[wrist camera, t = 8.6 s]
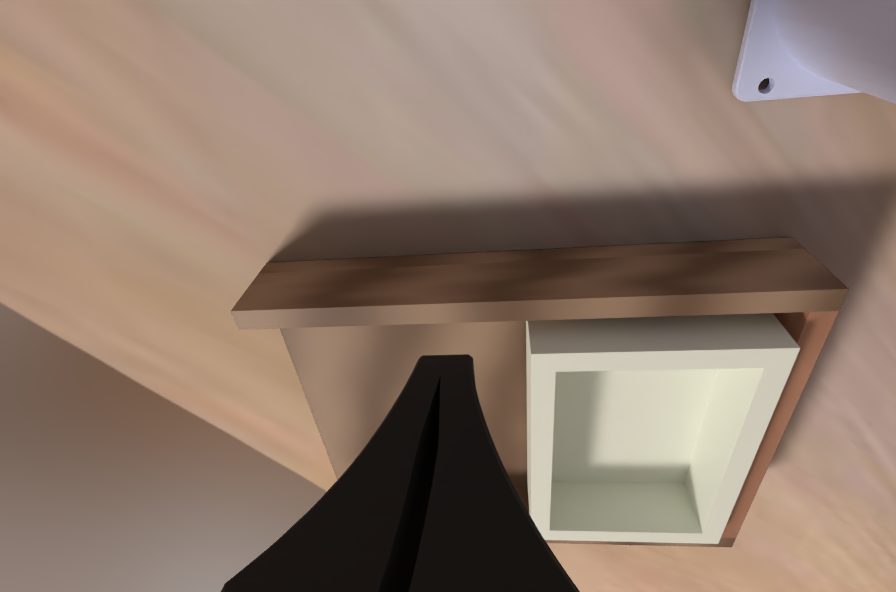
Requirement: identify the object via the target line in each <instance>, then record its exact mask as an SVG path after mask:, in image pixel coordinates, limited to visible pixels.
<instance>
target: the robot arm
mask: <svg viewBox="0 0 896 592" xmlns="http://www.w3.org/2000/svg"><path fill="white" fill-rule="evenodd" d="M766 78H769V84H768V86H767V87H766V88H765V89H764V90H762V91H758V86H759V84H760V82H761V81H763V80H764V79H766ZM860 92H864V93H867V94H870V95H873V96H876V97H878V98H881V99H884V100H887V101H890V102H893V103H896V0H751V4H750V9H749V13H748V18H747V22H746V27H745V31H744V36H743V40H742V45H741V49H740V54H739V58H738V63H737V67H736V72H735V76H734V81H733V85H732V93H733V95H734V96H735V97H736V98H737V99H739V100H741V101H746V102H749V101H761V100H773V99H786V98H798V97H811V96H823V95H835V94H848V93H860ZM221 592H580V591H579V590H578V588H577V587H576V586H575V584H574V583H573V581H572V580H571V579H570V577H569V576H568V574H567V573H566V571H565V570H564V569H563V567H562V566H561V564H560V563H559V561H558V560H557V558H556V557H555V555H554V554H553V552H552V551H551V549H550V548H549V546H548V544H547V543H546V541H545V540H544V538H543V537H542V535H541V533H540V532H539V530H538V528H537V527H536V525H535V523H534V521H533V520H532V518H531V516H530V515H529V513H528V511H527V509H526V508H525V506H524V504H523V503H522V501H521V499H520V497H519V495H518V493H517V491H516V489H515V488H514V486H513V484H512V482H511V480H510V478H509V476H508V474H507V471H506V469H505V467H504V465H503V463H502V461H501V459H500V456H499V454H498V452H497V449H496V447H495V445H494V442H493V440H492V437H491V435H490V432H489V429H488V426H487V424H486V421H485V418H484V415H483V412H482V408H481V405H480V402H479V398H478V395H477V390H476V384H475V373H474V363H473V357H471V356H470V355H469V354H463V355H422V356H421V357H420V358H419V359H418V361H417V363H416V365H415V368H414V369H413V371H412V373H411V375H410V377H409V379H408V381H407V383H406V385H405V386H404V388H403V390H402V392H401V393H400V395H399V397H398V398H397V400H396V401H395V403H394V405H393V406H392V408H391V410H390V411H389V413H388V414H387V416H386V417H385V419H384V420H383V422H382V423H381V425H380V426H379V428H378V429H377V430H376V432H375V433H374V435H373V436H372V438H371V439H370V440H369V442H368V443H367V445H366V446H365V447H364V449H363V450H362V451H361V452H360V454H359V455H358V456H357V458H356V459H355V460H354V461H353V463H352V464H351V465H350V466H349V467H348V469H347V470H346V471H345V472H344V473H343V475H342V476H341V477H340V478H339V479H338V480H337V481H336V482H335V484H334V485H333V486H332V487H331V488H330V489H329V490H328V491H327V492H326V493H325V495H324V496H323V497H322V498H321V499H320V500H319V501H318V502H317V503H316V504H315V505H314V506H313V507H312V508H311V509H310V510H309V511H308V512H307V513H306V514H305V515H304V516H303V517H302V518H301V519H300V520H299V521H297V522H296V524H294V525H293V526H292V527H291V528H290V529H289V530H288V531H287V532H286V533H285V534H284V535H283V536H282V537H280V538H279V539H278V540H277V541H276V542H275V543H274V544H273V545H272V546H270V547H269V548H268V549H267V550H266V551H264V552H263V553H262V554H261V555H260V556H258V557H257V558H256V559H255V560H254V561H252V562H251V563H250V564H249V565H248V566H246V567H245V568H244V569H243V570H241V571H240V572H239V573H238V574H236V575H235V576H234V577H233V578H231V579H230V580H229V581H228V582H226V583H225V585H224V587H223V589H222V591H221Z"/></svg>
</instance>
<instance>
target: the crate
mask: <svg viewBox="0 0 896 592" xmlns="http://www.w3.org/2000/svg"><path fill="white" fill-rule="evenodd" d="M799 350H800V347H799V346H798V344H797V343H796V342H795V341H794V339H793V338H792V337H791V335H790V334H789V333H788V332H787V330H786V329H785V328H784V327H783V325H782V324H781V323H780V322H779V320H778V319H777V318H776V317H775V315H774V314H773V313H758V314H726V315H694V316H662V317H629V318H597V319H565V320H533V321H526V375H527V485H528V500H529V515H530V516H531V518H532V520H533V521H534V523H535V525H536V527H537V528H538V530H539V532H540V533H541V535H542V537H543V538H544V540H568V541H612V542H655V543H699V544H718V543H719V541H720V538H721V536H722V534H723V531H724V529H725V526H726V524H727V522H728V519H729V517H730V515H731V512H732V510H733V507H734V505H735V503H736V500H737V498H738V496H739V493H740V491H741V488H742V486H743V484H744V481H745V479H746V476H747V474H748V472H749V469H750V467H751V465H752V462H753V460H754V457H755V455H756V453H757V450H758V448H759V445H760V443H761V441H762V438H763V436H764V434H765V431H766V429H767V426H768V424H769V422H770V419H771V417H772V415H773V412H774V410H775V407H776V405H777V403H778V400H779V398H780V395H781V393H782V391H783V388H784V386H785V384H786V381H787V379H788V376H789V374H790V372H791V369H792V367H793V364H794V362H795V360H796V357H797V355H798V353H799Z"/></svg>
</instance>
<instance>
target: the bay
mask: <svg viewBox="0 0 896 592" xmlns="http://www.w3.org/2000/svg"><path fill="white" fill-rule="evenodd" d="M848 290H849V289H848V288H847V287H846V286H845V285H844V284H843V283H842V282H841V281H840V280H839V279H837V278H836V277H835V276H834V275H833V274H832V273H831V272H830V271H829V270H828V269H827V268H825V267H824V266H823V265H822V264H821V263H820V262H819V261H818V260H817V259H816V258H815V257H813V256H812V255H811V254H810V253H809V252H808V251H807V250H806V249H805V248H804V247H803V246H801V245H800V244H799V243H798V242H797V241H796V240H795V239H794V238H793V237H786V238H766V239H745V240H724V241H704V242H683V243H663V244H642V245H621V246H601V247H580V248H559V249H539V250H518V251H497V252H477V253H456V254H436V255H415V256H394V257H374V258H353V259H332V260H312V261H291V262H271V263H266V265H265V266H264V267H263V269H262V270H261V271H260V273H259V274H258V275H257V277H256V278H255V279H254V281H253V282H252V283H251V285H250V286H249V287H248V289H247V290H246V291H245V293H244V294H243V295H242V297H241V298H240V299H239V301H238V302H237V303H236V305H235V306H234V307H233V309H232V310H231V314H232V316H233V318H234V320H235V323H236V325H237V327H238V329H239V330H244V329H276V328H280V330H281V333H282V336H283V338H284V341H285V344H286V346H287V349H288V351H289V354H290V357H291V359H292V362H293V365H294V367H295V370H296V372H297V375H298V378H299V380H300V383H301V386H302V388H303V391H304V393H305V396H306V399H307V401H308V404H309V407H310V409H311V412H312V414H313V417H314V420H315V422H316V425H317V428H318V430H319V433H320V435H321V438H322V441H323V443H324V446H325V449H326V451H327V454H328V456H329V459H330V462H331V464H332V467H333V470H334V472H335V475H336V477H337V480H338V479H339V478H340V477H341V476H342V475H343V473H344V472H345V471H346V470H347V469H348V467H349V466H350V465H351V464H352V463H353V461H354V460H355V459H356V458H357V456H358V455H359V454H360V452H361V451H362V450H363V449H364V447H365V446H366V445H367V443H368V442H369V440H370V439H371V438H372V436H373V435H374V433H375V432H376V430H377V429H378V428H379V426H380V425H381V423H382V422H383V420H384V419H385V417H386V416H387V414H388V413H389V411H390V410H391V408H392V406H393V405H394V403H395V401H396V400H397V398H398V397H399V395H400V393H401V392H402V390H403V388H404V386H405V385H406V383H407V381H408V379H409V377H410V375H411V373H412V371H413V369H414V368H415V365H416V363H417V361H418V359H419V358H420V357H421V356H422V355H463V354H469V355H470V356H471V357H473V363H474V373H475V384H476V390H477V395H478V398H479V402H480V405H481V408H482V412H483V415H484V418H485V421H486V424H487V426H488V429H489V432H490V435H491V437H492V440H493V442H494V445H495V447H496V449H497V452H498V454H499V456H500V459H501V461H502V463H503V465H504V467H505V469H506V471H507V474H508V476H509V478H510V480H511V482H512V484H513V486H514V488H515V489H516V491H517V493H518V495H519V497H520V499H521V501H522V503H523V504H524V506H525V508H526V509H527V511H528V513H529V500H528V485H527V375H526V321H533V320H565V319H597V318H629V317H662V316H694V315H726V314H758V313H773V314H774V315H775V317H776V318H777V319H778V320H779V322H780V323H781V324H782V325H783V327H784V328H785V329H786V330H787V332H788V333H789V334H790V335H791V337H792V338H793V339H794V341H795V342H796V343H797V344H798V346H799V347H800V350H799V353H798V355H797V357H796V360H795V362H794V364H793V367H792V369H791V372H790V374H789V376H788V379H787V381H786V384H785V386H784V388H783V391H782V393H781V395H780V398H779V400H778V403H777V405H776V407H775V410H774V412H773V415H772V417H771V419H770V422H769V424H768V426H767V429H766V431H765V434H764V436H763V438H762V441H761V443H760V445H759V448H758V450H757V453H756V455H755V457H754V460H753V462H752V465H751V467H750V469H749V472H748V474H747V476H746V479H745V481H744V484H743V486H742V488H741V491H740V493H739V496H738V498H737V500H736V503H735V505H734V507H733V510H732V512H731V515H730V517H729V519H728V522H727V524H726V526H725V529H724V531H723V534H722V536H721V538H720V541H719V543H718V544H699V543H655V542H612V541H568V540H545V541H546V543H572V544H614V545H657V546H700V547H732V546H733V543H734V541H735V539H736V537H737V535H738V532H739V530H740V528H741V526H742V524H743V521H744V519H745V517H746V515H747V512H748V510H749V508H750V506H751V504H752V501H753V499H754V497H755V495H756V493H757V490H758V488H759V486H760V484H761V482H762V479H763V477H764V475H765V473H766V471H767V468H768V466H769V464H770V462H771V460H772V457H773V455H774V453H775V451H776V449H777V446H778V444H779V442H780V440H781V438H782V435H783V433H784V431H785V429H786V426H787V424H788V422H789V420H790V418H791V415H792V413H793V411H794V409H795V407H796V404H797V402H798V400H799V398H800V396H801V393H802V391H803V389H804V387H805V385H806V382H807V380H808V378H809V376H810V374H811V371H812V369H813V367H814V365H815V363H816V360H817V358H818V356H819V354H820V352H821V349H822V347H823V345H824V343H825V341H826V338H827V336H828V334H829V332H830V329H831V327H832V325H833V323H834V321H835V318H836V316H837V314H838V312H839V310H840V307H841V305H842V303H843V301H844V299H845V296H846V294H847V292H848Z"/></svg>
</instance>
